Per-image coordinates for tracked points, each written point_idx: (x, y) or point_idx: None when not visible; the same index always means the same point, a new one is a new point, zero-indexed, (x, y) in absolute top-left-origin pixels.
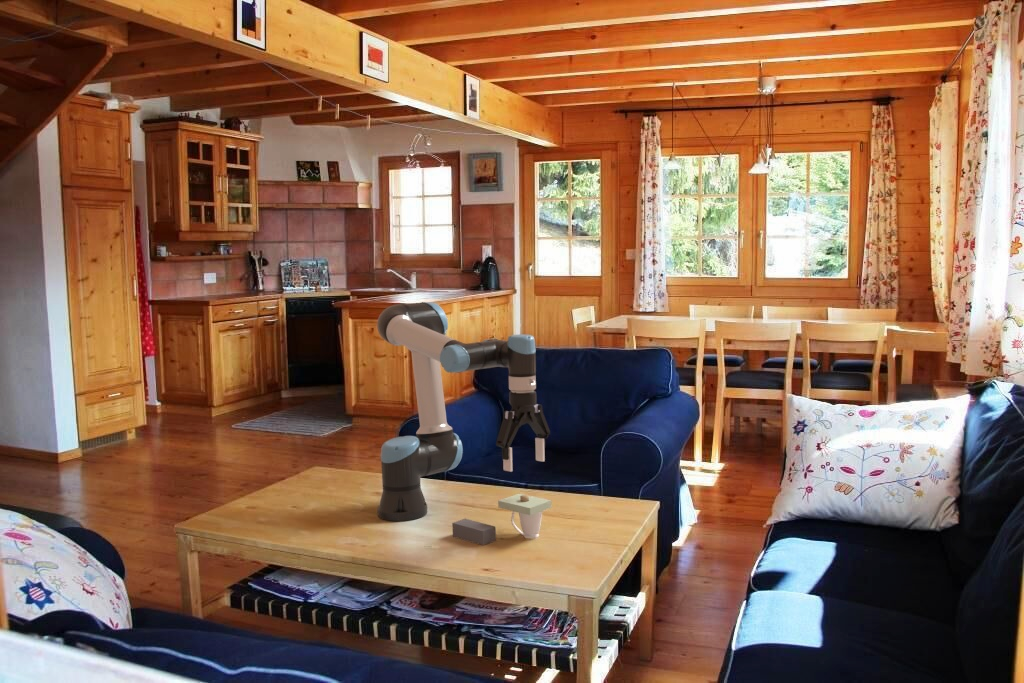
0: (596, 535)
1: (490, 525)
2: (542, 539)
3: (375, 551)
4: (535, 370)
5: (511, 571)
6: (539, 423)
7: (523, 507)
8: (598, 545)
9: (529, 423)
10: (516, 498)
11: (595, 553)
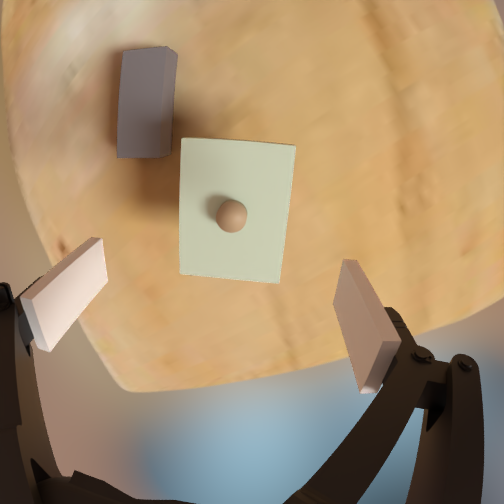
0: (322, 314)
1: (158, 141)
2: None
3: (22, 36)
4: None
5: None
6: (440, 449)
7: (180, 248)
8: (272, 342)
9: (306, 485)
10: (237, 174)
11: (233, 354)
